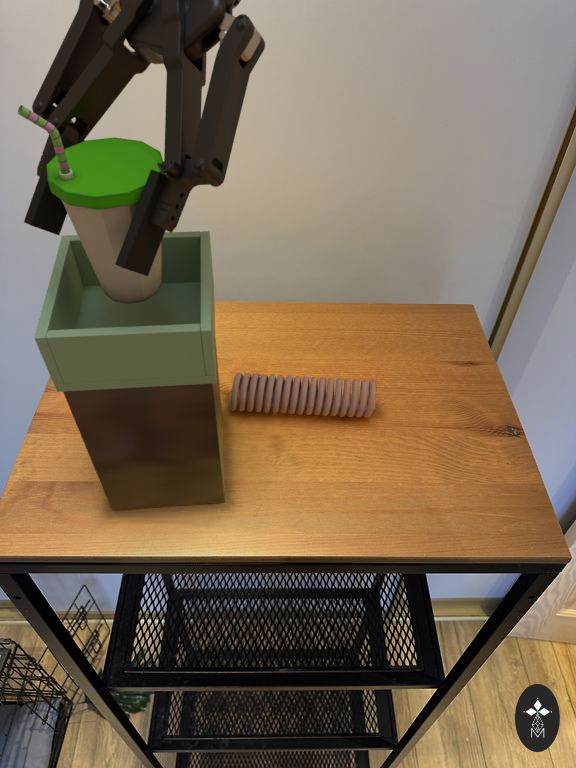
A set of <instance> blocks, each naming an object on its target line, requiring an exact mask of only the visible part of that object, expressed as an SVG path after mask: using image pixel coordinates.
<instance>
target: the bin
mask: <svg viewBox="0 0 576 768" xmlns="http://www.w3.org/2000/svg"><path fill="white" fill-rule="evenodd" d="M210 234H211V233H210V231H209V230H204V231H199V230H195V231H172V233H171V232H169V231H167V232H166V231H165V233H164V236H163V238H162V241H161V287H160V288H159V290H158V292H157V293H156V295H154V296H152V297H151V298H149V299H147V300H145V301H143V302H137V303H131V304H126V303H121V302H115V301H113V300H112V299H111V298H109V297H108V296H107V295H106V294H105V292H104V290H103V288H102V286H101V284H100V282H99V280H98V277H97V275H96V273H95V271H94V269H93V267H92V265H91V262H90V260H89V258H88V256H87V254H86V252H85V249H84V247H83V245H82V243H81V241H80V239H79V237H78V234H67V235H65V234H64V235H61V237H60V240H59V241H60V242H59V245H58V249H57V253H56V256H55V261H54V263H53V268H52V272H51V274H50V279H49V282H48V286H47V289H46V294H45V297H44V301H43V305H42V308H41V312H40V315H39V319H38V323H37V327H36V331H35V335H34V341H35V343H36V346H37V348H38V351H39V352H40V356H41V357H42V360H43V362H44V364H45V366H46V369H47V372H48V374H49V376H50V379H51V381H52V383H53V385H54V388H55V391H56V392H57V393H58V392H59V393H60V392H62V393H63V391H82V390H100V389H119V388H138V387H156V386H175V385H194V384H212V383H216V351H217V350H216V351H215V339H216V313H215V282H214V279H215V278H214V269H213V267H214V266H213V258H212V246H211V235H210Z"/></svg>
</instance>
